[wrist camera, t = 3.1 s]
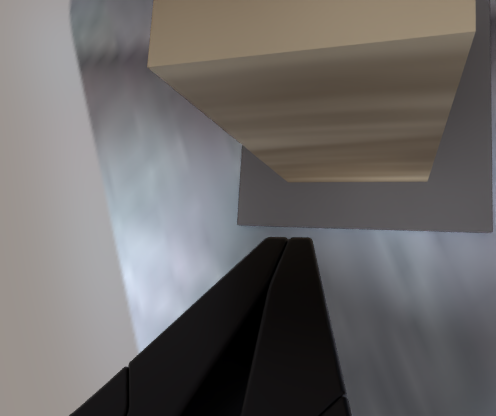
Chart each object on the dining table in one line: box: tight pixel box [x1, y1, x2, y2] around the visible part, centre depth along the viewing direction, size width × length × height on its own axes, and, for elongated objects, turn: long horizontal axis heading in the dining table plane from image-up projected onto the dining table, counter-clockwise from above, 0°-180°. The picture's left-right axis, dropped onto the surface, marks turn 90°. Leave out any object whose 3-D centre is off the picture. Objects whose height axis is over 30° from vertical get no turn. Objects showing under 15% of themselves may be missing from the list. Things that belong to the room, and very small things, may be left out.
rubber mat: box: [237, 0, 493, 233], centre depth 17 cm, size 17×9×1 cm, turn 177°
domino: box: [147, 0, 476, 182], centre depth 11 cm, size 2×5×10 cm, turn 87°
